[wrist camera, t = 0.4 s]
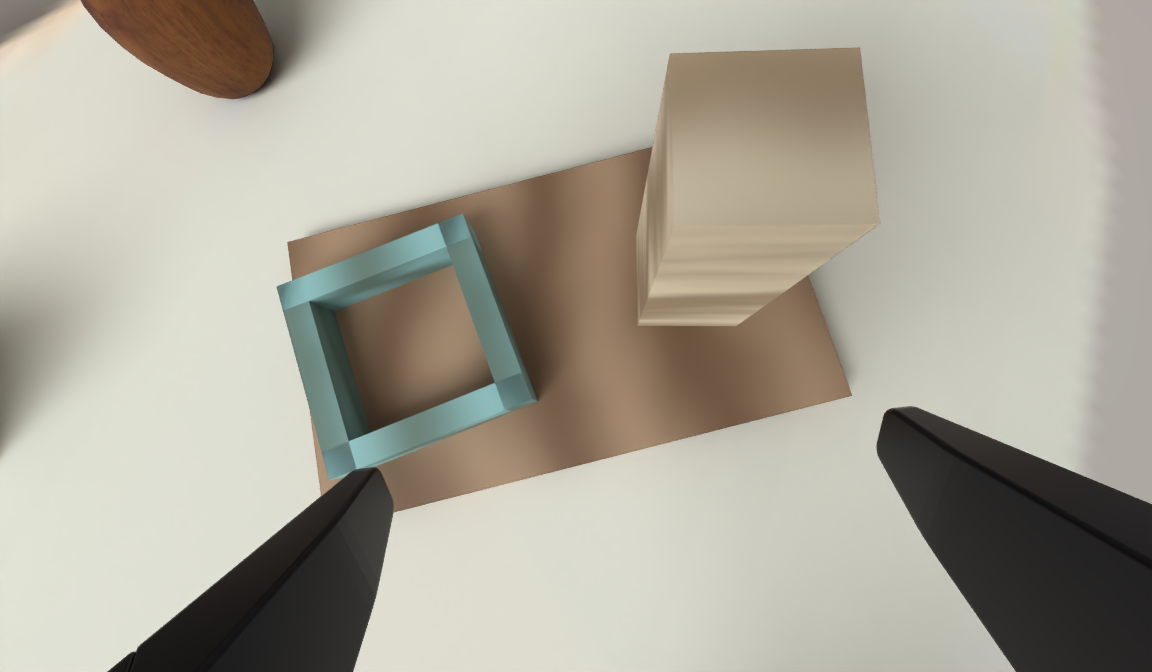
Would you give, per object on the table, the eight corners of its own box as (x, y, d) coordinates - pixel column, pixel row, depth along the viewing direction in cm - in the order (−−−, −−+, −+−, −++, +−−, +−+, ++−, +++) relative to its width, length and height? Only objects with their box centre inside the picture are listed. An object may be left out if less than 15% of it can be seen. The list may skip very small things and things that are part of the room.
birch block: (736, 326, 21) (880, 223, 10) (637, 325, 21) (674, 225, 10) (731, 233, 22) (859, 47, 11) (636, 234, 22) (669, 53, 11)
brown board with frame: (745, 133, 24) (765, 93, 21) (840, 396, 21) (879, 393, 18) (300, 249, 24) (258, 225, 21) (338, 524, 21) (295, 541, 18)
